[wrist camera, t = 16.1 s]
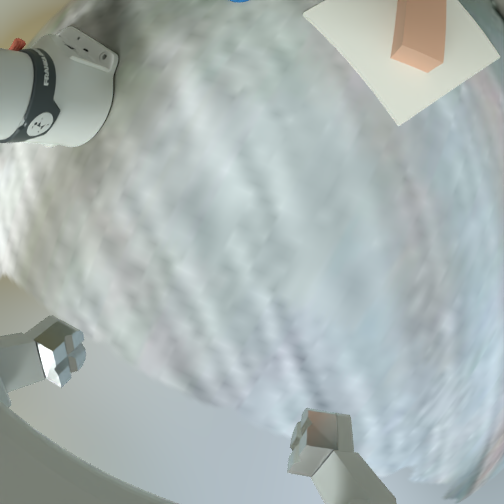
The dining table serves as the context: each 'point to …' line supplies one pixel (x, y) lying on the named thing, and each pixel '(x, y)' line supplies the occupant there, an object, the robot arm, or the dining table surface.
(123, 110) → the dining table surface
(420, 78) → the white mat
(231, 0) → the handheld gaming device
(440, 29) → the terracotta block
